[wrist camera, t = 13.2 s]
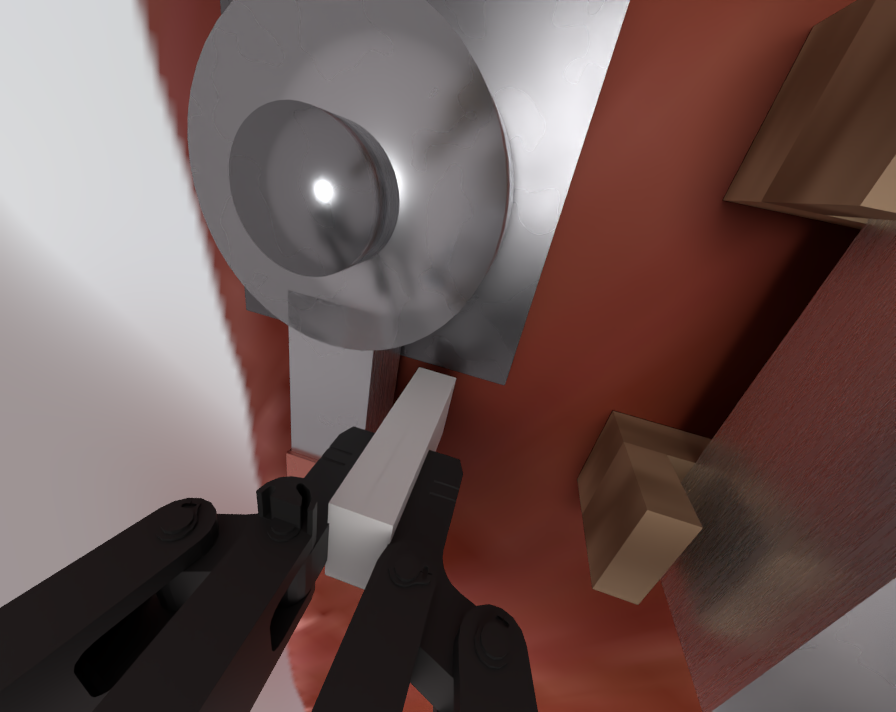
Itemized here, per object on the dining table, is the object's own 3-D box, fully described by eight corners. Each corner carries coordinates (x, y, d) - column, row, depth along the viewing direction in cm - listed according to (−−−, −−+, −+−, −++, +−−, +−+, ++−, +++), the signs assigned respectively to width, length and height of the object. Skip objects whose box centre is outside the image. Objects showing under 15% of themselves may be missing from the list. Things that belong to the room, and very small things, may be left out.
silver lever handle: (255, -1, 10) (72, -127, 6) (554, 50, 9) (567, -61, 5) (276, 429, 18) (201, 497, 14) (440, 483, 17) (410, 575, 13)
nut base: (505, 379, 15) (504, 385, 14) (254, 306, 16) (246, 310, 16) (629, -2, 9) (633, -12, 9) (227, -62, 10) (214, -73, 10)
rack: (785, 545, 15) (890, 693, 10) (577, 479, 16) (592, 588, 11) (1261, 93, 7) (2309, -52, 3) (813, 26, 8) (1110, -153, 4)
